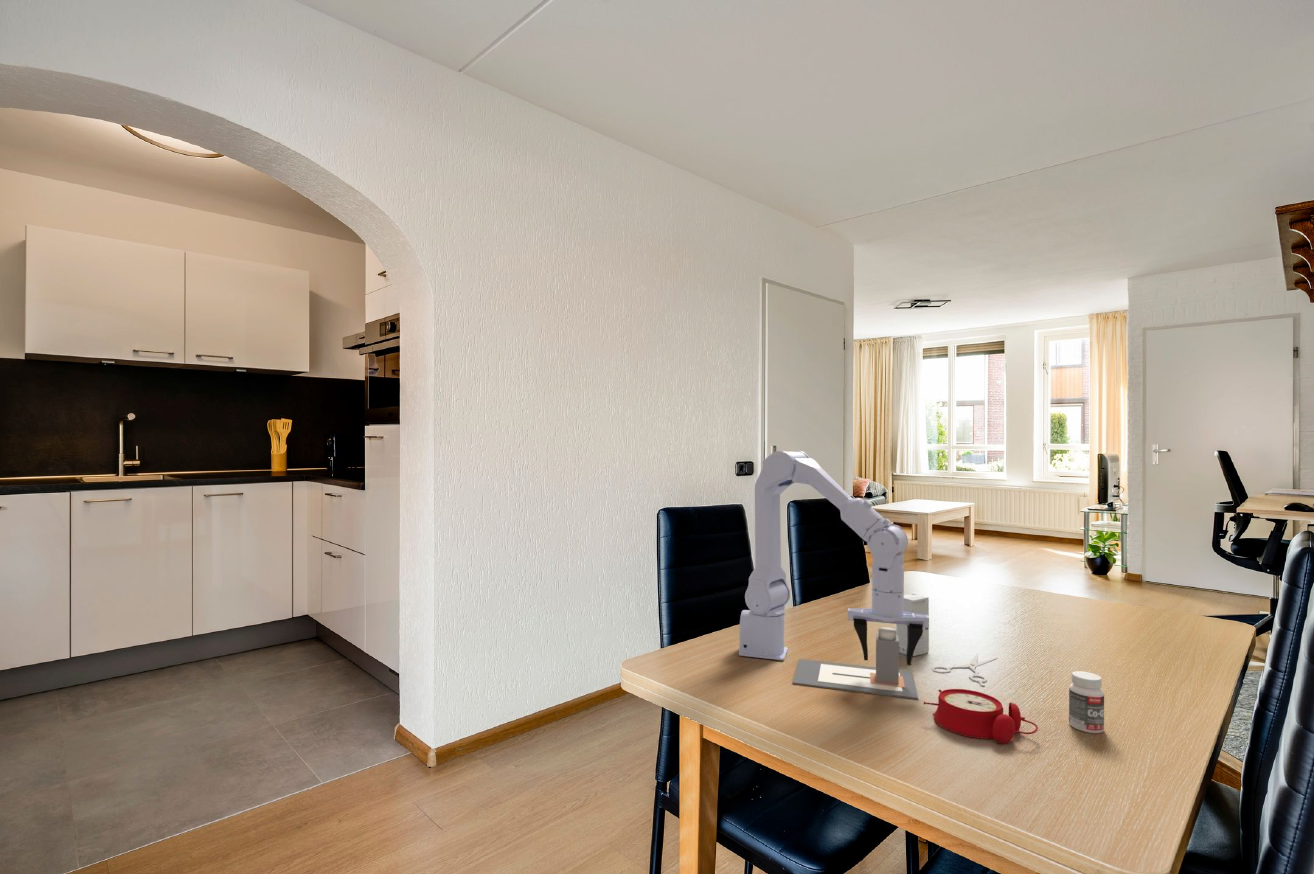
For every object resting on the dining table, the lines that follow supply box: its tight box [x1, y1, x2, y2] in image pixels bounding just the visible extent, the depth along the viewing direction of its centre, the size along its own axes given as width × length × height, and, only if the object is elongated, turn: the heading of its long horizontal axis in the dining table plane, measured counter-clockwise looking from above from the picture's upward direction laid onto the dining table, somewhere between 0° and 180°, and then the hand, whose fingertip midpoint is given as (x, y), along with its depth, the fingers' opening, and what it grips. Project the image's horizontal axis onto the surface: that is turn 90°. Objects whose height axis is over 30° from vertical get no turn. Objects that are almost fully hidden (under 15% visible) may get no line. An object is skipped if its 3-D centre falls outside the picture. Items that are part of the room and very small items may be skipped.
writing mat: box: [792, 658, 919, 700], centre depth 124 cm, size 22×14×1 cm, turn 72°
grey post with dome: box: [875, 626, 900, 685], centre depth 122 cm, size 4×4×10 cm
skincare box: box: [895, 593, 930, 657], centre depth 140 cm, size 6×4×12 cm
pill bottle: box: [1068, 670, 1105, 734], centre depth 104 cm, size 5×5×8 cm
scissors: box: [931, 653, 998, 688], centre depth 131 cm, size 11×1×20 cm
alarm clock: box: [923, 688, 1039, 745], centre depth 103 cm, size 11×6×15 cm
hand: (887, 661), depth 122 cm, fingers open, 7 cm apart
